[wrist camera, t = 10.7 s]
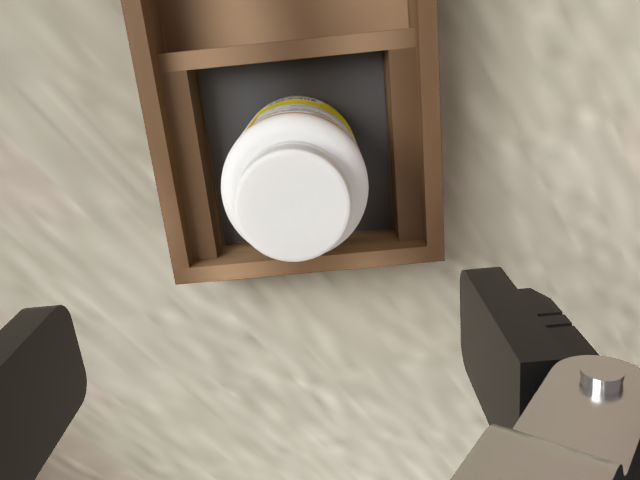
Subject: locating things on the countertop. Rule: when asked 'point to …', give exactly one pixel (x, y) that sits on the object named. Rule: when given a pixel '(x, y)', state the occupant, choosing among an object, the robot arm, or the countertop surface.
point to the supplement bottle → (295, 180)
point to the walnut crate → (281, 81)
